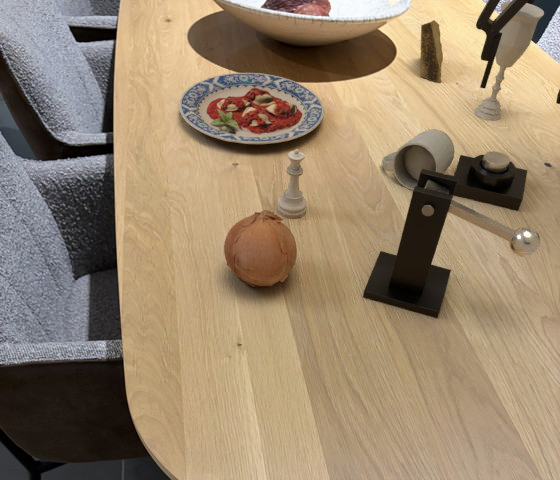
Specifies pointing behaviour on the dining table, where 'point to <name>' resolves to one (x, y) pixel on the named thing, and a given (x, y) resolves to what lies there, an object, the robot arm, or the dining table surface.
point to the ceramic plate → (251, 108)
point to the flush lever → (494, 225)
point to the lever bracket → (416, 253)
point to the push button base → (490, 183)
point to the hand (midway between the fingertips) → (521, 91)
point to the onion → (260, 249)
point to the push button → (495, 162)
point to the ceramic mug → (420, 157)
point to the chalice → (510, 52)
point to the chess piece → (293, 189)
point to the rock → (431, 51)
